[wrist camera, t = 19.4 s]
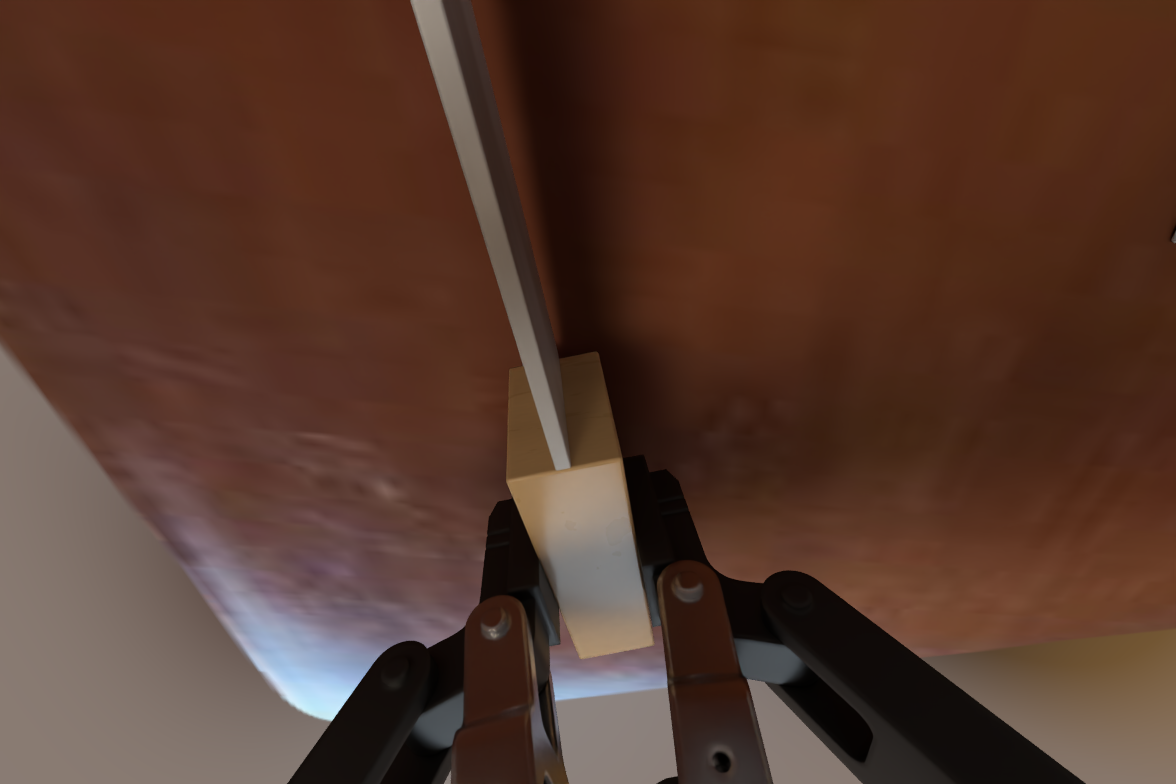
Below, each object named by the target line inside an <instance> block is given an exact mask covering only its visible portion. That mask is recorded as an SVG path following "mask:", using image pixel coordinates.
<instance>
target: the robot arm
mask: <svg viewBox="0 0 1176 784" xmlns="http://www.w3.org/2000/svg"><path fill="white" fill-rule="evenodd" d="M623 464H624V470H625V476H626V481H627V487H628V493H629V499H630V504H631V510H632V516H633V522H634V528H635V533H636V542H637V547H638V553H639V559H640V565H641V571H642V577H643V582H644V588H645V593H646V598H647V602H648V607H649V612H650V616H651V621H652V626H653V627H655V626H661V627H662V636H663V644H664V653H665V661H666V670H667V684H668V694H669V702H670V711H671V720H672V729H673V737H674V746H675V755H676V763H677V772H678V776H677V777H671V778H666V779H664V780H662V781H661V782H659V783H657V784H773V781H772V777H771V773H770V768H769V764H768V761H767V756H766V753H765V749H764V744H763V740H762V737H761V732H760V728H759V724H758V720H757V716H756V712H755V708H754V704H753V700H752V696H751V692H750V688H749V685H748V682H747V679H751V680H757V681H763V682H765V683H766V684H767V685H768V686H769V687H770V688H771V689H772V690H773V692H774V693H775V694H776V695H777V696H778V697H779V698H780V699H781V700H782V701H783V702H784V703H785V704H786V705H787V706H788V707H789V708H790V709H791V710H792V711H793V712H794V713H795V714H796V715H797V716H798V717H799V718H800V719H801V720H802V722H803V723H804V724H805V725H806V726H807V727H808V728H809V729H810V730H811V731H812V732H813V733H814V734H815V735H816V736H817V737H818V738H819V739H820V740H821V741H822V742H823V743H824V744H825V745H826V746H827V747H828V748H829V749H830V750H831V751H832V752H833V753H834V754H835V755H836V756H837V758H838V759H839V760H840V761H841V762H842V763H843V764H844V765H845V766H846V767H847V768H848V769H849V770H850V771H851V772H852V773H853V774H854V775H855V776H856V777H857V778H858V779H859V780H860V781H861V782H862V783H863V784H1086V783H1084V782H1083V781H1082V780H1080V779H1079V778H1078V777H1076V776H1075V775H1074V774H1072V773H1071V772H1070V771H1068V770H1067V769H1066V768H1064V767H1063V766H1062V765H1060V764H1059V763H1058V762H1056V761H1055V760H1054V759H1052V758H1051V757H1050V756H1049V755H1047V754H1046V753H1044V752H1043V751H1042V750H1040V749H1039V748H1038V747H1037V746H1035V745H1034V744H1033V743H1031V742H1030V741H1029V740H1027V739H1026V738H1025V737H1023V736H1022V735H1021V734H1020V733H1018V732H1017V731H1016V730H1014V729H1013V728H1012V727H1010V726H1009V725H1008V724H1006V723H1005V722H1004V721H1002V720H1001V719H1000V718H998V717H997V716H995V714H993V713H992V712H990V711H989V710H988V709H987V708H985V707H984V706H983V705H981V704H980V703H979V702H977V701H976V700H975V699H973V698H972V697H971V696H969V695H968V694H967V693H966V692H964V691H963V690H962V689H960V688H959V687H958V686H956V685H955V684H954V683H952V682H951V681H950V680H948V679H947V678H946V677H944V676H943V675H942V674H940V673H939V672H938V671H936V670H935V669H934V668H933V667H931V666H930V665H929V664H927V663H926V662H925V661H923V660H922V659H921V658H919V657H918V656H917V655H915V654H914V653H913V652H911V651H910V650H909V649H908V648H906V647H905V646H904V645H902V644H901V643H900V642H898V641H897V640H896V639H894V638H893V637H892V636H890V635H889V634H888V633H886V632H885V631H884V630H882V629H881V628H880V627H879V626H877V625H876V624H875V623H873V622H872V621H871V620H869V619H868V618H867V617H865V616H864V615H863V614H861V613H860V612H859V611H857V610H856V609H855V608H853V607H852V606H851V605H850V604H848V603H847V602H846V601H844V600H843V599H842V598H840V597H839V596H838V595H836V594H835V593H834V592H832V591H831V590H830V589H828V588H827V587H826V586H824V585H823V584H822V583H821V582H819V581H818V580H816V579H815V578H813V577H812V576H810V575H808V574H805V573H802V572H798V571H781V572H777V573H775V574H773V575H771V576H770V577H768V578H767V579H766V580H765V582H764V583H755V582H746V581H739V580H734V579H731V578H728V577H726V576H724V575H722V574H721V573H719V572H718V571H717V570H715V569H714V568H713V567H712V566H711V565H710V563H709V562H708V560H707V558H706V556H705V553H704V551H703V548H702V545H701V542H700V539H699V537H698V534H697V531H696V528H695V526H694V523H693V520H692V517H691V515H690V512H689V510H688V506H687V503H686V501H685V499H684V495H683V492H682V490H681V487H680V484H679V481H678V480H677V479H676V478H675V477H674V476H673V475H672V474H671V473H670V472H669V471H667V470H666V469H665V470H660V471H654V472H649V471H648V467H647V464H646V460H645V457H644V455H638V456H633V457H628V458H623ZM487 535H488V537H487V540H486V550H485V559H484V568H483V577H482V587H481V596H480V602H479V605H478V606H477V607H476V608H475V609H474V610H473V611H472V613H471V614H470V616H469V618H468V620H467V622H466V626H465V627H464V628H463V629H461V630H460V631H459V632H457V633H456V634H454V635H452V636H450V637H449V638H447V639H445V640H443V641H441V642H439V643H437V644H435V645H433V646H431V647H429V648H426V647H425V646H424V645H423V644H422V643H420V642H417V641H404V642H401V643H398V644H396V645H394V646H392V647H390V648H389V649H387V650H386V651H385V652H383V653H382V654H381V655H380V656H379V657H378V658H377V660H376V661H375V662H374V663H373V665H372V666H371V668H370V669H369V670H368V672H367V673H366V675H365V676H364V677H363V679H362V680H361V682H360V683H359V684H358V686H357V687H356V689H355V690H354V691H353V693H352V694H351V696H350V697H349V698H348V700H347V701H346V702H345V704H344V705H343V707H342V708H341V709H340V711H339V712H338V714H337V715H336V716H335V718H334V719H333V721H332V722H331V723H330V725H329V726H328V728H327V729H326V731H325V732H324V733H323V735H322V736H321V738H320V739H319V740H318V742H317V743H316V745H315V746H314V747H313V749H312V750H311V751H310V753H309V754H308V756H307V757H306V758H305V760H304V761H303V763H302V764H301V765H300V767H299V768H298V770H297V771H296V772H295V774H294V775H293V776H292V778H291V779H290V781H289V782H288V783H287V784H444V782H445V780H446V778H447V776H448V774H449V772H450V770H451V784H569V782H568V778H567V775H566V771H565V767H564V762H563V756H562V749H561V742H560V734H559V726H558V719H557V712H556V704H555V697H554V689H553V682H552V675H551V672H550V653H549V646H553V645H559V644H560V623H559V606H558V604H557V601H556V599H555V597H554V594H553V592H552V589H551V587H550V584H549V582H548V580H547V577H546V575H545V572H544V570H543V568H542V565H541V563H540V560H539V558H538V556H537V554H536V552H535V549H534V547H533V544H532V542H531V540H530V537H529V535H528V532H527V530H526V528H525V525H524V523H523V520H522V518H521V516H520V513H519V511H518V508H517V506H516V504H515V501H514V499H513V496H512V499H509V500H504V501H499V502H497V504H496V506H495V508H494V509H493V511H492V513H491V515H490V516H489V521H488V531H487Z"/></svg>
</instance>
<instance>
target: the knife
mask: <svg viewBox="0 0 1176 784" xmlns="http://www.w3.org/2000/svg"><path fill="white" fill-rule="evenodd" d="M410 1H411V5H412V8H413V11H414V14H415V18H416V21H417V24H418V27H419V31H420V34H421V37H422V40H423V43H424V47H425V50H426V53H427V56H428V60H429V63H430V66H431V69H432V73H433V76H434V79H435V82H436V85H437V89H438V92H439V95H440V98H441V102H442V105H443V108H444V111H445V115H446V118H447V121H448V124H449V127H450V131H451V134H452V137H453V140H454V144H455V147H456V150H457V153H458V157H459V160H460V163H461V166H462V169H463V173H464V176H465V179H466V182H467V186H468V189H469V192H470V195H471V199H472V202H473V205H474V208H475V211H476V215H477V218H478V221H479V224H480V228H481V231H482V234H483V237H484V241H485V244H486V247H487V250H488V253H489V257H490V260H491V263H492V266H493V270H494V273H495V276H496V279H497V283H498V286H499V289H500V292H501V295H502V299H503V302H504V305H505V308H506V312H507V315H508V318H509V321H510V325H511V328H512V331H513V334H514V337H515V341H516V344H517V347H518V350H519V354H520V357H521V360H522V363H523V366H521V367H516V368H511V369H510V370H509V397H508V434H507V470H506V482H507V484H508V487H509V489H510V492H511V494H512V496H513V499H514V501H515V504H516V506H517V508H518V511H519V513H520V516H521V518H522V520H523V523H524V525H525V528H526V530H527V532H528V535H529V537H530V540H531V542H532V544H533V547H534V549H535V552H536V554H537V556H538V558H539V560H540V563H541V565H542V568H543V570H544V572H545V575H546V577H547V580H548V582H549V584H550V587H551V589H552V592H553V594H554V597H555V599H556V601H557V604H558V606H559V609H560V612H561V614H562V617H563V619H564V621H565V624H566V626H567V629H568V631H569V633H570V636H571V638H572V641H573V643H574V645H575V648H576V650H577V653H578V655H579V657H580V659H585V658H590V657H595V656H601V655H606V654H611V653H617V652H622V651H627V650H632V649H638V648H643V647H648V646H653V645H654V637H653V631H652V626H651V620H650V614H649V608H648V603H647V598H646V593H645V588H644V582H643V577H642V571H641V565H640V559H639V553H638V547H637V542H636V533H635V528H634V522H633V516H632V510H631V504H630V499H629V493H628V487H627V481H626V476H625V470H624V464H623V458H622V454H621V449H620V445H619V441H618V436H617V432H616V428H615V423H614V419H613V414H612V410H611V406H610V401H609V397H608V392H607V388H606V384H605V379H604V375H603V370H602V366H601V362H600V357H599V354H598V352H591V353H586V354H581V355H576V356H571V357H566V358H561V359H559V355H558V351H557V347H556V343H555V339H554V335H553V331H552V327H551V323H550V319H549V315H548V311H547V307H546V303H545V299H544V294H543V290H542V286H541V282H540V278H539V274H538V270H537V266H536V262H535V258H534V254H533V250H532V246H531V242H530V238H529V234H528V230H527V226H526V222H525V218H524V214H523V210H522V206H521V202H520V197H519V193H518V189H517V185H516V181H515V177H514V173H513V169H512V165H511V161H510V157H509V153H508V149H507V145H506V141H505V137H504V133H503V129H502V125H501V121H500V117H499V113H498V109H497V105H496V100H495V96H494V92H493V88H492V84H491V80H490V76H489V72H488V68H487V64H486V60H485V56H484V52H483V48H482V44H481V40H480V36H479V32H478V28H477V24H476V20H475V16H474V12H473V8H472V4H471V0H410Z"/></svg>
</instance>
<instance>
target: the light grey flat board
mask: <svg viewBox="0 0 1176 784" xmlns="http://www.w3.org/2000/svg"><path fill="white" fill-rule="evenodd" d="M1171 242H1173V243H1176V231H1175V233H1174V235H1173V237H1172V239H1171Z"/></svg>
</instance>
